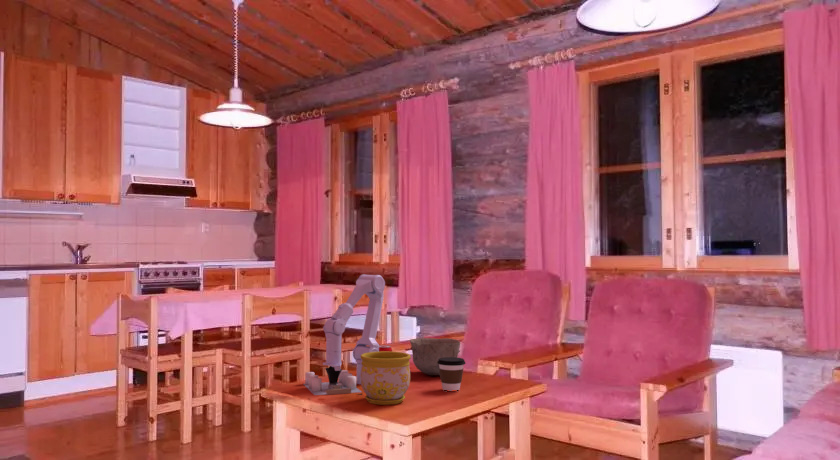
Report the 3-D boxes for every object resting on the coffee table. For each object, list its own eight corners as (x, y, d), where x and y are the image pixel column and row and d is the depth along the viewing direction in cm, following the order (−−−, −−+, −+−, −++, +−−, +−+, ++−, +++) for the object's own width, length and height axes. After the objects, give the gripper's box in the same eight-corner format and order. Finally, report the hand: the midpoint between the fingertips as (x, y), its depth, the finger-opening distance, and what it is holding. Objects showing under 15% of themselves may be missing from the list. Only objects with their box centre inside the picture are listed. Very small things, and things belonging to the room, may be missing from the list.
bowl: (407, 370, 299) (407, 337, 299) (455, 370, 301) (455, 337, 302) (412, 379, 277) (412, 343, 277) (463, 379, 279) (464, 343, 280)
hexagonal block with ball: (334, 388, 252) (334, 381, 252) (344, 390, 249) (344, 383, 249) (325, 390, 249) (325, 383, 249) (335, 392, 245) (335, 385, 245)
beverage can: (389, 375, 287) (390, 347, 287) (375, 374, 288) (376, 346, 288) (393, 372, 293) (393, 345, 293) (379, 372, 294) (380, 344, 294)
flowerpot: (416, 405, 231) (416, 357, 231) (365, 408, 226) (366, 359, 226) (402, 394, 248) (403, 350, 249) (355, 396, 243) (356, 352, 244)
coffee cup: (469, 389, 260) (469, 358, 260) (459, 394, 250) (459, 362, 250) (443, 386, 264) (443, 356, 265) (432, 391, 254) (432, 360, 255)
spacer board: (347, 383, 267) (347, 369, 268) (362, 395, 246) (362, 380, 246) (302, 386, 261) (303, 372, 261) (314, 398, 240) (314, 383, 240)
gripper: (319, 348, 258) (318, 383, 257) (327, 354, 244) (326, 391, 244) (337, 347, 260) (336, 382, 260) (346, 353, 247) (345, 390, 246)
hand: (333, 386), depth 252 cm, fingers closed
